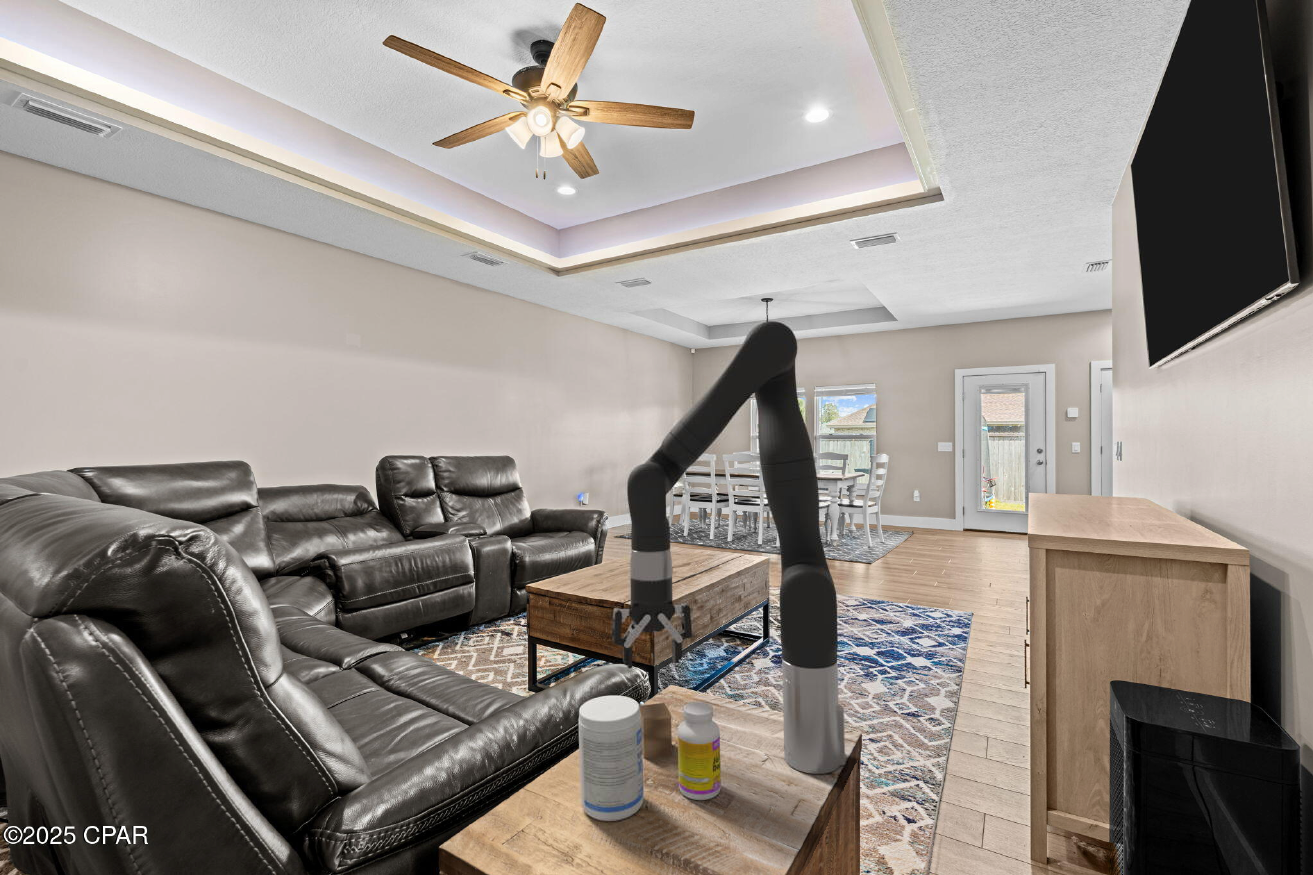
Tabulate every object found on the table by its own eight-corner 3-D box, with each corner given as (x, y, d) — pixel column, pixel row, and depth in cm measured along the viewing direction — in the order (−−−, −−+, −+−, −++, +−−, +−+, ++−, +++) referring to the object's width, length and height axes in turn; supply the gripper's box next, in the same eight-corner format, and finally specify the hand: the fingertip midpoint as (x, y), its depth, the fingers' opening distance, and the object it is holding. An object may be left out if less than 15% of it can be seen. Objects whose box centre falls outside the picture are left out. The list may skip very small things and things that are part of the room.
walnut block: (665, 740, 109) (664, 702, 109) (672, 754, 104) (671, 714, 105) (638, 744, 108) (637, 706, 108) (644, 758, 103) (643, 718, 103)
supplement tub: (654, 811, 88) (652, 712, 89) (595, 832, 84) (593, 728, 84) (626, 779, 97) (624, 689, 97) (571, 797, 92) (569, 702, 92)
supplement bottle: (719, 804, 90) (716, 718, 90) (675, 800, 91) (673, 715, 91) (723, 779, 96) (721, 700, 96) (682, 775, 98) (680, 697, 98)
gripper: (683, 567, 112) (684, 653, 112) (608, 572, 109) (609, 661, 109) (695, 575, 105) (696, 668, 105) (615, 581, 101) (616, 676, 101)
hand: (652, 664), depth 107 cm, fingers open, 8 cm apart
